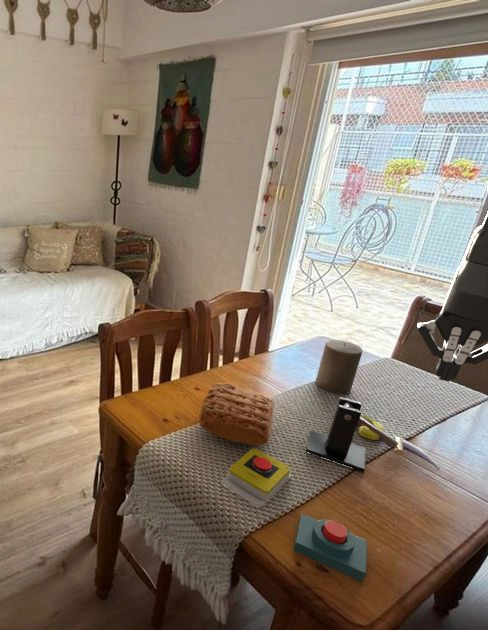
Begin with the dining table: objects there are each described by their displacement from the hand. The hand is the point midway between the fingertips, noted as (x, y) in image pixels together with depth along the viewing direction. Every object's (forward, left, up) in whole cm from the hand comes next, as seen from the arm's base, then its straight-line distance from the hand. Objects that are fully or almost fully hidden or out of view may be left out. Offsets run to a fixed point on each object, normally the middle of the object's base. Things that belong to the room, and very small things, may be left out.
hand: (443, 378), depth 79 cm
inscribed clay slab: (+34, -9, -31) cm, 47 cm away
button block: (+10, +19, -31) cm, 38 cm away
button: (+10, +19, -27) cm, 35 cm away
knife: (+1, -25, -31) cm, 40 cm away
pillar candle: (+14, -48, -31) cm, 59 cm away
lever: (+6, -13, -22) cm, 27 cm away
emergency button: (+25, +8, -31) cm, 41 cm away
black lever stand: (+11, -13, -31) cm, 35 cm away
